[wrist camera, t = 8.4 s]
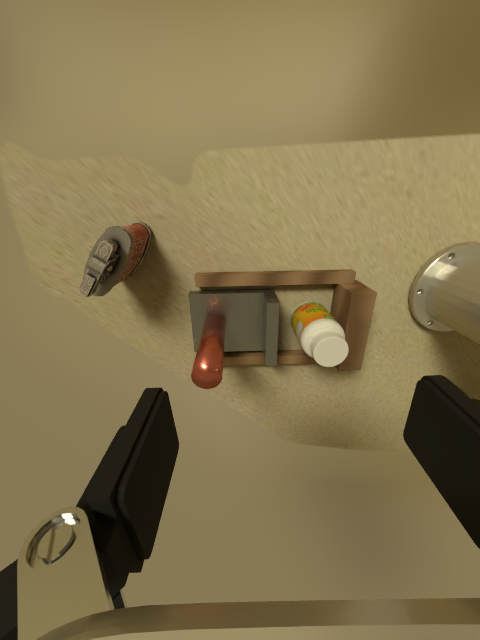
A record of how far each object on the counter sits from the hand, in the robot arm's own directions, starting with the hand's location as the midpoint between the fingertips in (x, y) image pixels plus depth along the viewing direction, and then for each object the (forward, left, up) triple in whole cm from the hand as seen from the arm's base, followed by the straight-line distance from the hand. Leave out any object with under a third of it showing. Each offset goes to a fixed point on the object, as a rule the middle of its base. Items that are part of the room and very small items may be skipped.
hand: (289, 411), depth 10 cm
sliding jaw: (+2, +8, -26) cm, 28 cm away
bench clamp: (-5, +8, -27) cm, 28 cm away
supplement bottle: (-9, +8, -27) cm, 29 cm away
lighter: (+15, -2, -27) cm, 31 cm away
